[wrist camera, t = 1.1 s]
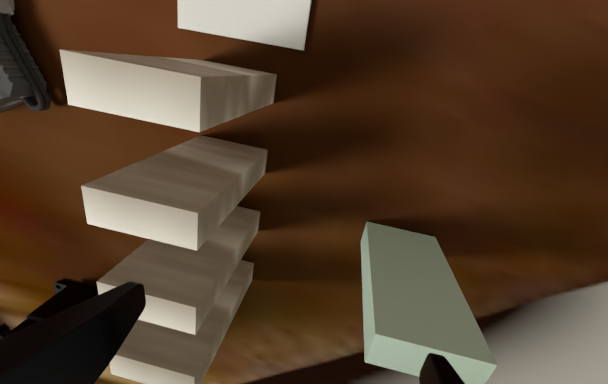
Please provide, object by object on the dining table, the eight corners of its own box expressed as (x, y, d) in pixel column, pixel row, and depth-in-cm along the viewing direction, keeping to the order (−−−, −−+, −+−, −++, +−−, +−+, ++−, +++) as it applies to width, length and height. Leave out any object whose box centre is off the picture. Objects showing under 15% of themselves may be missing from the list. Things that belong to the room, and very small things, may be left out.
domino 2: (265, 173, 21) (197, 250, 12) (200, 159, 22) (87, 223, 12) (267, 149, 20) (197, 213, 11) (200, 135, 21) (80, 185, 12)
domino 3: (258, 231, 23) (195, 334, 14) (199, 217, 24) (100, 309, 14) (260, 211, 22) (196, 307, 13) (199, 197, 23) (96, 281, 14)
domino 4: (252, 279, 25) (193, 398, 16) (198, 266, 26) (111, 373, 16) (254, 263, 24) (194, 377, 15) (198, 249, 25) (107, 352, 16)
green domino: (426, 257, 22) (479, 392, 13) (360, 241, 22) (364, 362, 13) (435, 236, 21) (497, 365, 12) (366, 221, 21) (375, 333, 12)
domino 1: (273, 103, 19) (199, 132, 10) (202, 89, 20) (68, 104, 10) (277, 74, 18) (200, 76, 9) (202, 60, 19) (59, 49, 10)
